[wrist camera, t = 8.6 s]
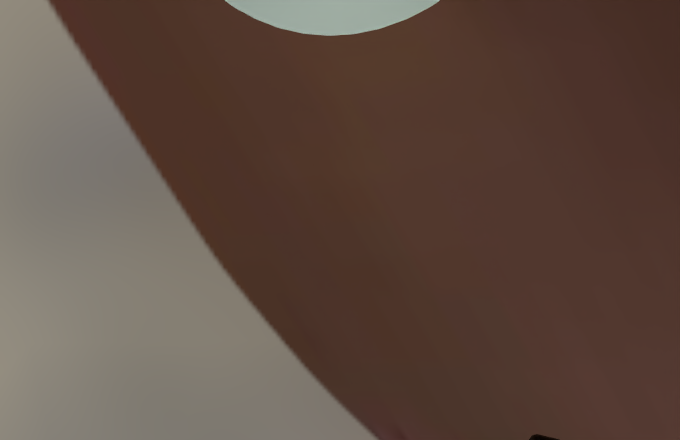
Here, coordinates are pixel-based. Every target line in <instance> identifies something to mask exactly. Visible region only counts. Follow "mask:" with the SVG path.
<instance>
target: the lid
mask: <svg viewBox="0 0 680 440" xmlns="http://www.w3.org/2000/svg"><path fill="white" fill-rule="evenodd" d="M225 1H226V2H228V3H229V4H230V5H232V6H233V7H235V8H237V9H238V10H240V11H242V12H244V13H246V14H248V15H249V16H251V17H253V18H255V19H257V20H260V21H262V22H265V23H268V24H270V25H273V26H275V27H278V28H282V29H286V30H290V31H295V32H299V33H304V34H316V35H328V36H330V35H346V34H356V33H361V32H366V31H371V30H376V29H380V28H383V27H386V26H389V25H391V24H394V23H397V22H400V21H403V20H406V19H408V18H410V17H412V16H414V15H416V14H418V13H419V12H421V11H423V10H425V9H427V8H429V7H431V6H432V5H434V4H435V3H437V2H438V1H440V0H225Z"/></svg>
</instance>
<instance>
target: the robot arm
mask: <svg viewBox="0 0 680 440" xmlns="http://www.w3.org/2000/svg"><path fill="white" fill-rule="evenodd" d="M529 440H559V439H555V438H551V437H547V436H543V435H538V434H536V435H532V436H531V438H530V439H529Z"/></svg>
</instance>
